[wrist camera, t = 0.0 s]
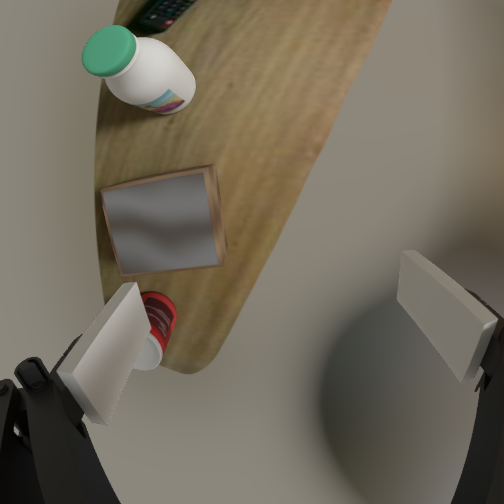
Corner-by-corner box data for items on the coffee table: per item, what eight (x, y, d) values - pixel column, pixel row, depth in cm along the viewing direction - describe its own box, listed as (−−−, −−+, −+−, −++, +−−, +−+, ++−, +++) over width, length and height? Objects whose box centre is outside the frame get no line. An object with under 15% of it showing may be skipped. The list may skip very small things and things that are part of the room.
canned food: (138, 326, 47) (117, 366, 37) (133, 287, 45) (106, 324, 34) (179, 331, 48) (164, 374, 37) (176, 292, 45) (158, 332, 34)
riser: (122, 181, 38) (96, 190, 31) (215, 163, 38) (206, 167, 30) (139, 256, 43) (119, 278, 35) (227, 245, 42) (222, 267, 34)
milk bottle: (157, 60, 32) (90, 6, 13) (205, 73, 33) (166, 13, 14) (136, 107, 34) (52, 85, 16) (183, 121, 36) (122, 101, 17)
